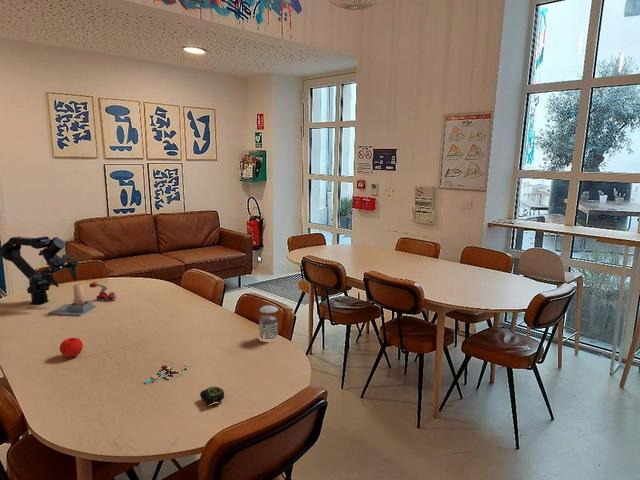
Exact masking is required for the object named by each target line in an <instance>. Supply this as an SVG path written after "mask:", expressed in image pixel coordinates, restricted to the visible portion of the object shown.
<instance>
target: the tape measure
mask: <svg viewBox="0 0 640 480" xmlns="http://www.w3.org/2000/svg"><path fill="white" fill-rule="evenodd" d="M199 396H200V398H201V400H203V399H204V400H203V401H204V403H205V402H206V403H207V404H206V403H205V404H206V406H208V405H210V404H212V403H214V402H220V401H221V400H222V399H223V400H224V399H225V392H224V390H223V388H221V387H220V386H210V387H208V388H206V389H203V390H202V391H200V393H199ZM221 402H222V401H221ZM221 402H220V403H221Z"/></svg>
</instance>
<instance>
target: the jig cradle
mask: <svg viewBox="0 0 640 480" xmlns="http://www.w3.org/2000/svg"><path fill="white" fill-rule="evenodd" d="M95 308H96V304H93V301H90V300H89V301H88V300H85V305H83V306H75V301H73V302H72V303H64V304H63V305H60V306H59V307H57V308H55V309H53V310H51V311H50V312H48V313H47V314H48V316H63V317H64V316H65V317H82V316H83V315H85V314H86V313H88V312H90V311H92V310H93V309H95Z"/></svg>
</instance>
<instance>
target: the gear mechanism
mask: <svg viewBox="0 0 640 480" xmlns="http://www.w3.org/2000/svg"><path fill="white" fill-rule="evenodd" d="M183 365H184V366H185V367H190V364H189V363H187V362H186V363H183V364H182V366H183ZM173 366H174V362H173V361H172V362H171V366H170V367H172V368H170V367H169V366H167V365H166V364H164V365H162V366H161V367H160V368H161V369H162V370H165V371H167V372H169V373H170V374H175V373H176V371H175V370H173ZM190 368H191V367H190ZM159 373H160V374H162V375H163V376H165V377H169V376H170V375H169V376H167V375H165V374H166V373H162V372H159ZM176 374H177V373H176ZM176 374H175V375H176ZM150 378H151V379H147V380H144V381H143V383H144V382H145V383H147V382H150V381H152V380H154V381H155V380H157V379H158V377H157V376H156V375H155V374H152V375H150ZM158 380H159V379H158ZM146 381H147V382H146ZM154 381H153V382H154ZM145 383H144V384H145ZM150 383H151V382H150Z"/></svg>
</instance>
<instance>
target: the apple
mask: <svg viewBox="0 0 640 480" xmlns="http://www.w3.org/2000/svg"><path fill="white" fill-rule="evenodd" d="M83 348H84V345H83V341H82V340H81V339H79V338H78V337H70V338H66V339H64V340H63V341H62V342H61V343H60V345H59V348H58V350H59V352H60V354H61V355H63V356H65V357H67V358H75V357H77V356H79V355H80V354H81V352H82V351H83Z"/></svg>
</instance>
